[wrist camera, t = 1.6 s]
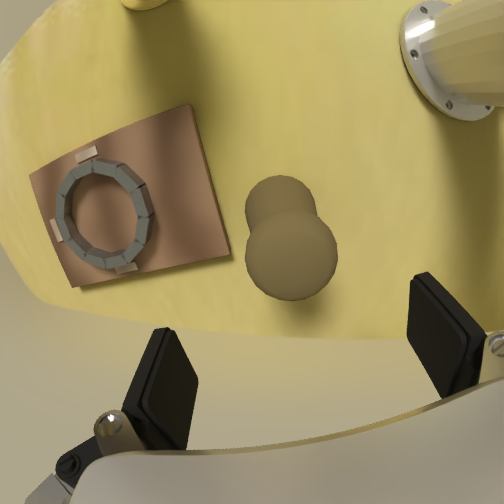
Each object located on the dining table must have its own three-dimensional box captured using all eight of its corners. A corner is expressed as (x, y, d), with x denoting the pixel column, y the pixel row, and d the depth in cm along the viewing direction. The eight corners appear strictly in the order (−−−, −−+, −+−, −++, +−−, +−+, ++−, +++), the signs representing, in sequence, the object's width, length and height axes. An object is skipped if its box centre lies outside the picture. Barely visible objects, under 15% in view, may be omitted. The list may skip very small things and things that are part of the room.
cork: (301, 250, 26) (325, 327, 16) (236, 232, 26) (222, 303, 16) (325, 187, 24) (370, 233, 14) (256, 166, 23) (254, 196, 13)
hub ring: (134, 143, 22) (127, 145, 20) (168, 249, 25) (163, 256, 24) (53, 179, 23) (43, 183, 21) (86, 268, 26) (79, 275, 25)
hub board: (191, 105, 21) (187, 103, 20) (230, 248, 26) (229, 255, 25) (35, 172, 23) (27, 175, 22) (77, 282, 28) (71, 288, 27)
